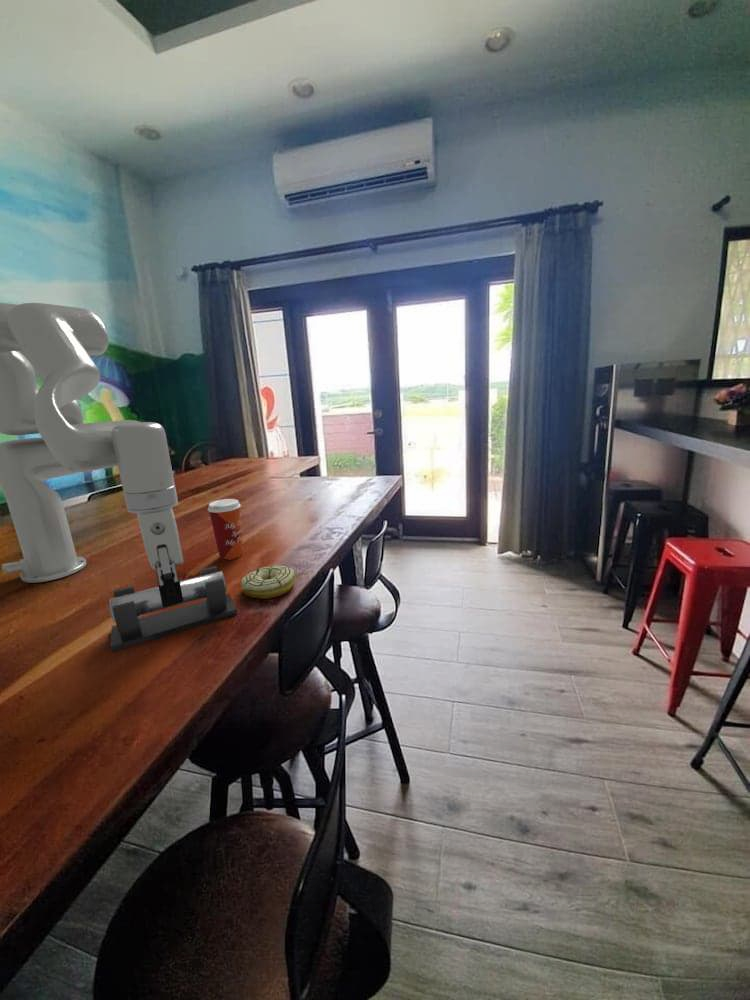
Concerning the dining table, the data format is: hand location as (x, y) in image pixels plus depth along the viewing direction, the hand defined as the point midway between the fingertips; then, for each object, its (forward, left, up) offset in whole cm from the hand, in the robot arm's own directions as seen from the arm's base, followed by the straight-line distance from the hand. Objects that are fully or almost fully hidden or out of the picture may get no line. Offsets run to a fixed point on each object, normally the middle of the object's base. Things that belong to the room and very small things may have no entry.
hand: (171, 594), depth 72 cm
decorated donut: (+18, +3, -6) cm, 19 cm away
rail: (0, 0, 0) cm, 0 cm away
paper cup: (+15, +26, -6) cm, 31 cm away
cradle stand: (0, 0, -6) cm, 6 cm away
